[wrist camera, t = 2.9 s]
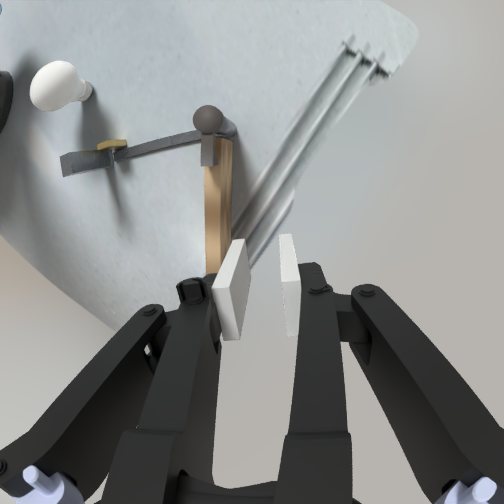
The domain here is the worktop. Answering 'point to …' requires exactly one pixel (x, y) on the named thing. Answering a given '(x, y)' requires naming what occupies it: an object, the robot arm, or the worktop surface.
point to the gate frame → (128, 150)
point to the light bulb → (58, 86)
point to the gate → (215, 185)
